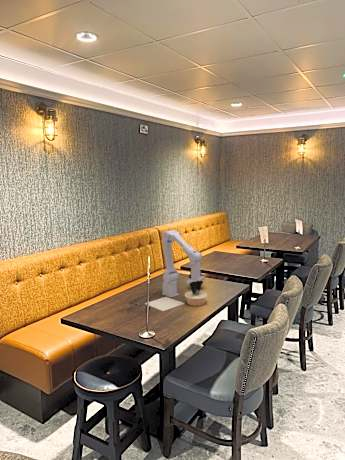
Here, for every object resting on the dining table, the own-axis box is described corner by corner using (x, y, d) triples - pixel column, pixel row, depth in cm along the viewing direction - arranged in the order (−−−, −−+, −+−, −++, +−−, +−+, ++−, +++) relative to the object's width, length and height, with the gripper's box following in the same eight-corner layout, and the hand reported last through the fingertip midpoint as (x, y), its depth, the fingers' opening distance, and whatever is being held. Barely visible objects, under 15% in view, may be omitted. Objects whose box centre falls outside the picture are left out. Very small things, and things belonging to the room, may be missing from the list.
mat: (144, 304, 229) (144, 303, 229) (165, 297, 241) (165, 296, 241) (163, 311, 216) (163, 311, 216) (184, 304, 228) (184, 303, 228)
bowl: (183, 303, 229) (183, 296, 228) (195, 299, 236) (195, 292, 236) (196, 307, 221) (196, 300, 220) (208, 303, 228) (208, 296, 228)
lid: (180, 295, 228) (179, 289, 228) (195, 290, 238) (195, 284, 237) (196, 300, 218) (196, 295, 218) (211, 295, 228) (211, 289, 227)
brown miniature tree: (203, 291, 252) (203, 270, 250) (187, 290, 255) (187, 269, 252) (205, 286, 263) (204, 266, 260) (189, 285, 265) (189, 265, 263)
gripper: (192, 275, 218) (192, 297, 220) (208, 270, 227) (208, 291, 230) (183, 273, 223) (184, 294, 225) (200, 268, 233) (200, 289, 235)
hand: (195, 292), depth 228 cm, fingers closed on lid, 3 cm apart
